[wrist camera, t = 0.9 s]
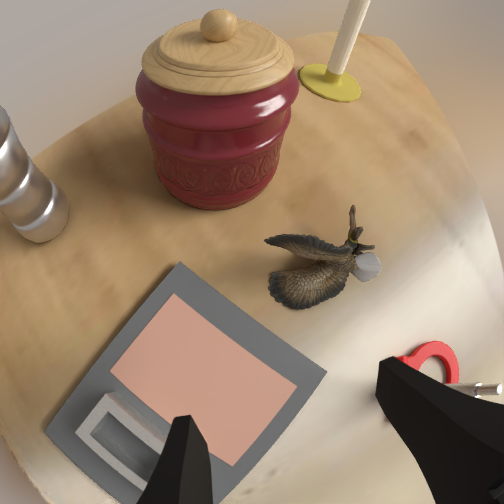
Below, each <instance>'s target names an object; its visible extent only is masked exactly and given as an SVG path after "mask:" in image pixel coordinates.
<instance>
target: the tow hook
mask: <svg viewBox="0 0 504 504" xmlns="http://www.w3.org/2000/svg"><path fill="white" fill-rule="evenodd" d="M430 356H437V357H439V358H440V359H441V360H442V361H443V362H444V364H445V366H446V370H447V383H446V384H444V385H446V386H448V387H450V388H453V389H455V390H457V391H460V392H462V393H465V394H467V395H470V396H473V397H476V398H479V397H480V395H499V394H500V393H501V391H502V385H501V384H489V385H482V384H481V383H480V382H475V383H458V380H459V367H458V362H457V359H456V356H455V354H454V352H453V350H452V349H451V348H450V347H449V346H448V345H446V344H445V343H443V342H439V341H432V342H428V343H424V344H422V345H421V346H419V347H418V348H416V350H415V351H414V352H413V353H412V354H411V355H410V356H409V357H407V356H400V357H395V358H397V359H399V360H400V361H402V362H404V363H406V364H407V365H409V366H411V367H412V368H414V369H416V370H419V368H420V366H421V364H422V363H423V362H424V361H425V360H426V359H427V358H429V357H430Z"/></svg>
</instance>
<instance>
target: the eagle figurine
mask: <svg viewBox="0 0 504 504" xmlns="http://www.w3.org/2000/svg"><path fill="white" fill-rule="evenodd" d="M349 215H350V230H349V232H348V240H346V241H345V244H344V245H342V246H340V247H335V246H334V245H333V244H329V243H325V242H324V241H323V240H319V238H318V237H316V236H311V235H308V236H305V235H292V234H282V235H276V236H274V237H270V238H269V239H265V240H264V241H265V242H266V243H267V244H270V245H273V246H278V247H281V248H284V249H287V250H289V251H291V252H292V253H294V254H296V255H298V256H301V257H305V258H310V259H316V260H318V261H317V262H316V263H315V264H313V265H311V266H309V267H306V268H302V269H298V270H295V271H279V272H274V273H273V274H272V276H273V277H272V278H271V279H270V283H271V285H270V286H269V287H268V289H269V290H270V291H271V292H270V295H271V296H273V297H275V298H276V301H277V302H284V305H285V306H290V308H292V309H302V310H303V309H305V308H311V307H312V306H315V305H318V304H319V303H320V302H323V301H325V300H328V299H329V298H333V297H335V296H336V295H338V294H339V293H340V291H342V290H343V288H344V287H345V282H346V281H347V277H348V276H349V274H348V273H349V272H351V273H352V274H353V275H354V276H355V277H357V278H358V279H359V280H360V281H361V282H366V281H369V280H371V279H372V278H375V277H376V276H377V275H378V274H379V273H380V272H381V263H380V260H379V259H378V257H377V256H376V255H375V254H374V253H371V252H368V253H362V252H361V251H365V250H371V249H374V248H375V246H374V245H371V246H368V245H362V244H360V243H359V244H358V240H357V239H358V237H359V236H360V234H361V233H362V231H363V227H357V228H356V222H355V205H352V207H351V209H350V212H349ZM360 250H361V251H360ZM354 254H355V255H357V256H353V255H354Z"/></svg>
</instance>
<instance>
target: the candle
mask: <svg viewBox="0 0 504 504" xmlns="http://www.w3.org/2000/svg"><path fill="white" fill-rule="evenodd" d="M370 1H371V0H350V1H349V4H348V7H347V10H346V13H345V16H344V19H343V22H342V25H341V28H340V31H339V34H338V36H337V39H336V42H335V45H334V48H333V51H332V54H331V57H330V60H329V63H328V65H325V64H310V65H306V66H304V67H303V68H302V69H301V70H300V80H301V81H302V83H303V84H304V86H306V87H307V88H308V89H309V90H311V91H312V92H313V93H315V94H317V95H319V96H321V97H323V98H325V99H329V100H333V101H337V102H352V101H354V100H357V99H358V98H359V96H360V94H361V90H360V86H359V84H358V83H357V82H356V80H355V79H354V78H353V77H351V76H350V75H349V74H347V73H346V72H344V69H345V66H346V64H347V61H348V59H349V56H350V53H351V51H352V48H353V46H354V43H355V40H356V38H357V35H358V33H359V30H360V27H361V25H362V22H363V19H364V17H365V14H366V12H367V9H368V6H369V4H370Z"/></svg>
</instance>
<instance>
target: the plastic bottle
mask: <svg viewBox="0 0 504 504" xmlns="http://www.w3.org/2000/svg"><path fill="white" fill-rule="evenodd" d="M0 210H1V211H2V213H3V214H4V215H5V216H6V217H7V218H8V219H9V220H10V221H11V223H12V224H13V226H14V227H15V229H16V230H17V231H18V232H19V233H20V234H21V235H22V236H23V237H24V238H26V239H28V240H30V241H33V242H35V243H43V242H46V241H49V240H52V239H53V238H55V237H56V236H57V235H59V233H60V232H61V231H62V230H63V228H64V227H65V225H66V223H67V219H68V214H69V204H68V200H67V198H66V196H65V194H64V192H63V190H62V189H61V188H60V187H59V186H58V185H57V184H56V183H54V182H53V181H52V180H50V179H49V178H47V177H46V176H45V175H44V174H43V173H42V172H41V171H40V170H39V169H38V167H37V166H36V165H35V164H34V163H33V162H32V160H31V159H30V157H29V156H28V155H27V152H26V151H25V149H24V148H23V146H22V145H21V143H20V141H19V139H18V136H17V134H16V132H15V130H14V127H13V125H12V123H11V121H10V118H9V116H8V114H7V112H6V110H5V109H4V108H3V107H1V106H0Z"/></svg>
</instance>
